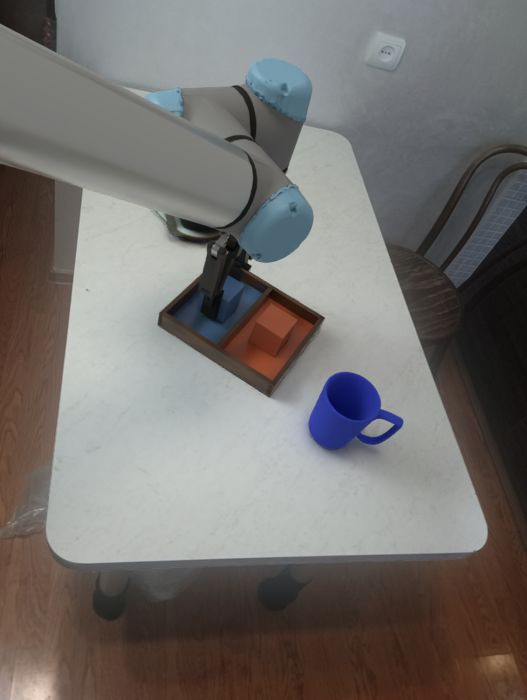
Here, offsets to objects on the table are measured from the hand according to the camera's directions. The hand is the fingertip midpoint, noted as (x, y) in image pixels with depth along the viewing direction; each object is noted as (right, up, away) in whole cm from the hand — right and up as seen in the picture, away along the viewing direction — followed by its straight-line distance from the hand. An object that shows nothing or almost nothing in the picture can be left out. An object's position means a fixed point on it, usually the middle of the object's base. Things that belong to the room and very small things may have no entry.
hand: (218, 305), depth 88 cm
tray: (+4, -4, +1) cm, 5 cm away
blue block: (0, 0, 0) cm, 0 cm away
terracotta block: (+8, -6, -1) cm, 10 cm away
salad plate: (-5, +19, +15) cm, 24 cm away
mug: (+19, -20, -8) cm, 29 cm away
